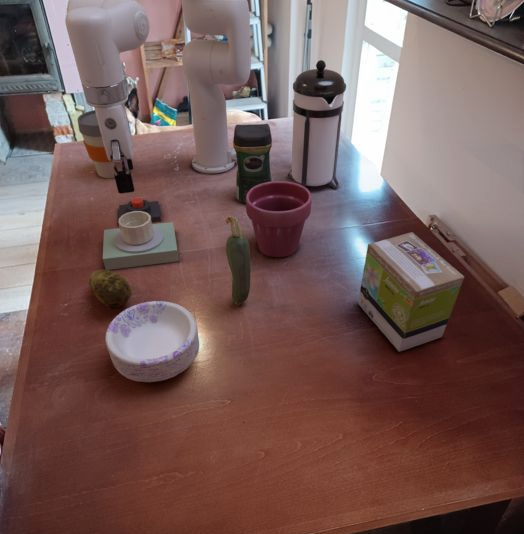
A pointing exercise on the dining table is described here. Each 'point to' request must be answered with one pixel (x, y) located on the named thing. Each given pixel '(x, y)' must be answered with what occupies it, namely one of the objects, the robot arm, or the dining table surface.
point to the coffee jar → (252, 157)
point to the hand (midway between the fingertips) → (126, 180)
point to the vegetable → (238, 261)
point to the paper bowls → (152, 341)
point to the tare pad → (143, 209)
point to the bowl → (136, 227)
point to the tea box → (408, 290)
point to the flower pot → (278, 215)
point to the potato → (110, 288)
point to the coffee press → (316, 126)
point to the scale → (140, 248)
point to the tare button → (137, 203)
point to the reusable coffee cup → (95, 144)
